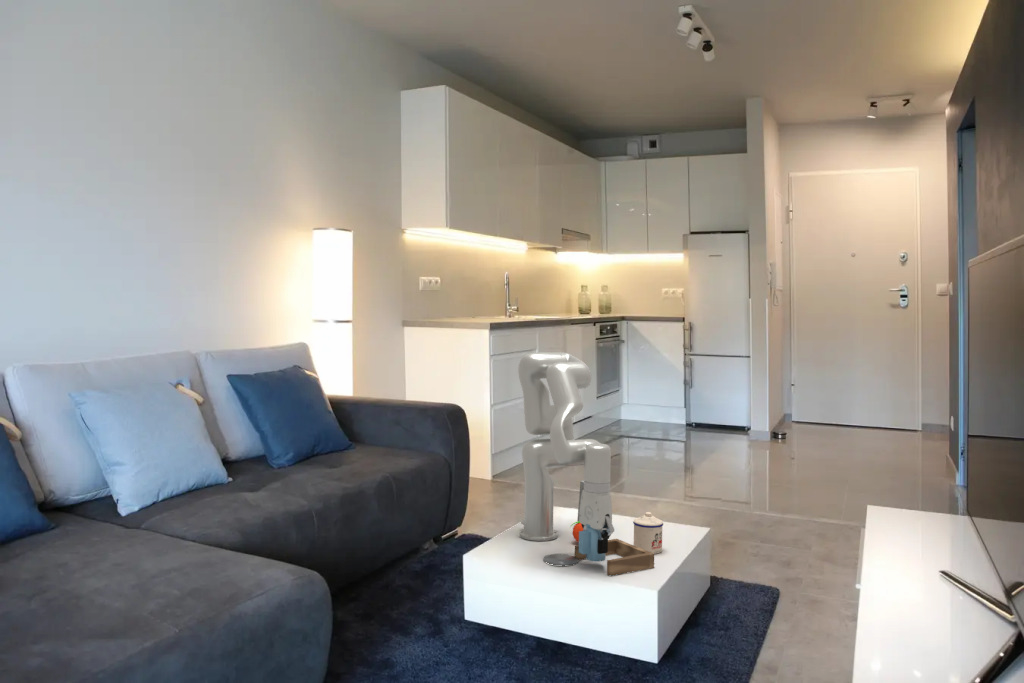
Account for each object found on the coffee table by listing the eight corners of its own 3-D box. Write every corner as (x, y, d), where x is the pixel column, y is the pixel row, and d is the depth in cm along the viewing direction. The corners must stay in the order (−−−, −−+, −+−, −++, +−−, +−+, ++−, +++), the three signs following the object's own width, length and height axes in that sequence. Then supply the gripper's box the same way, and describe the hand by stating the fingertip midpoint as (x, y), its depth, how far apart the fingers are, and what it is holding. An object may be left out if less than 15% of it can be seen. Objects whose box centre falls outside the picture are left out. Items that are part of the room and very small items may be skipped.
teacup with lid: (656, 556, 224) (657, 517, 224) (628, 551, 229) (628, 513, 229) (670, 546, 234) (670, 509, 234) (642, 542, 239) (643, 505, 239)
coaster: (537, 558, 220) (537, 556, 220) (565, 553, 226) (565, 551, 226) (556, 568, 212) (556, 566, 212) (584, 563, 217) (584, 561, 217)
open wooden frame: (574, 559, 221) (574, 545, 221) (616, 551, 228) (616, 538, 228) (610, 576, 206) (610, 561, 206) (654, 567, 214) (654, 553, 214)
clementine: (570, 546, 234) (570, 523, 233) (567, 539, 240) (568, 517, 240) (595, 546, 234) (596, 523, 234) (592, 540, 241) (593, 518, 241)
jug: (597, 554, 218) (598, 519, 218) (610, 559, 213) (611, 524, 213) (574, 558, 214) (575, 523, 214) (587, 564, 209) (587, 528, 208)
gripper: (568, 482, 219) (567, 544, 219) (605, 494, 204) (603, 560, 205) (589, 480, 223) (588, 540, 223) (626, 491, 208) (625, 556, 209)
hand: (595, 549), depth 214 cm, fingers closed on jug, 5 cm apart
